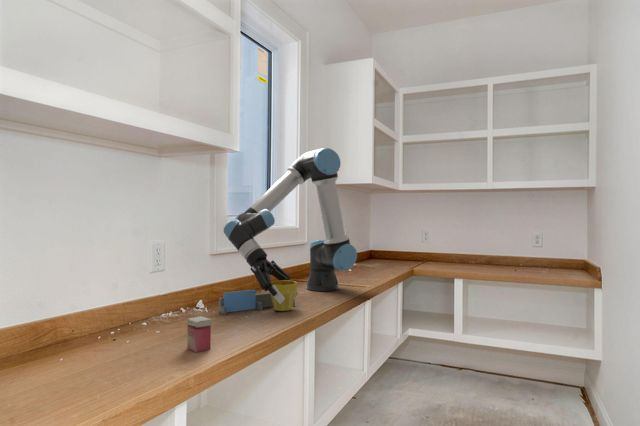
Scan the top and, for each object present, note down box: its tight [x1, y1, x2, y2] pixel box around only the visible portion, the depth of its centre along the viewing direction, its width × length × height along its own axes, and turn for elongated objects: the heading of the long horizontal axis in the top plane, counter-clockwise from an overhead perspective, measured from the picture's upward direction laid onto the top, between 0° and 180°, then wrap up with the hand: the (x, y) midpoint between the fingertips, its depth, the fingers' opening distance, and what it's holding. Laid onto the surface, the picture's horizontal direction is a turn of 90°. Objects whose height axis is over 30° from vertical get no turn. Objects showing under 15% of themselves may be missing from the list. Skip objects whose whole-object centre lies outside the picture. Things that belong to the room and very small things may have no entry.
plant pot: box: [271, 279, 298, 312], centre depth 151 cm, size 10×10×10 cm
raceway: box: [218, 289, 296, 316], centre depth 154 cm, size 28×5×7 cm, turn 121°
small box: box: [186, 315, 212, 353], centre depth 108 cm, size 5×4×8 cm
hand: (290, 298), depth 150 cm, fingers closed on plant pot, 10 cm apart
